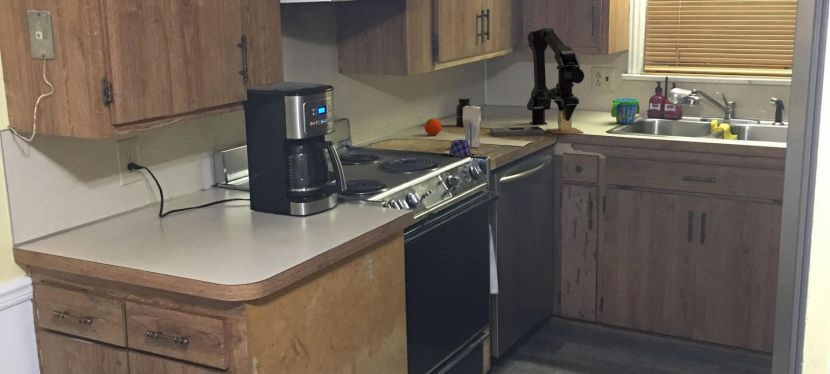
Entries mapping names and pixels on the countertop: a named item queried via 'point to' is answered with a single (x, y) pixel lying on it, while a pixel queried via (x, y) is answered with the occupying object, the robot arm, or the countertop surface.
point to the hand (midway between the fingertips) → (564, 119)
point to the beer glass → (472, 124)
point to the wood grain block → (564, 122)
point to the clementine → (432, 126)
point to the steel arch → (517, 131)
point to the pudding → (459, 147)
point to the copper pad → (556, 131)
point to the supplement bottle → (461, 110)
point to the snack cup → (625, 110)
